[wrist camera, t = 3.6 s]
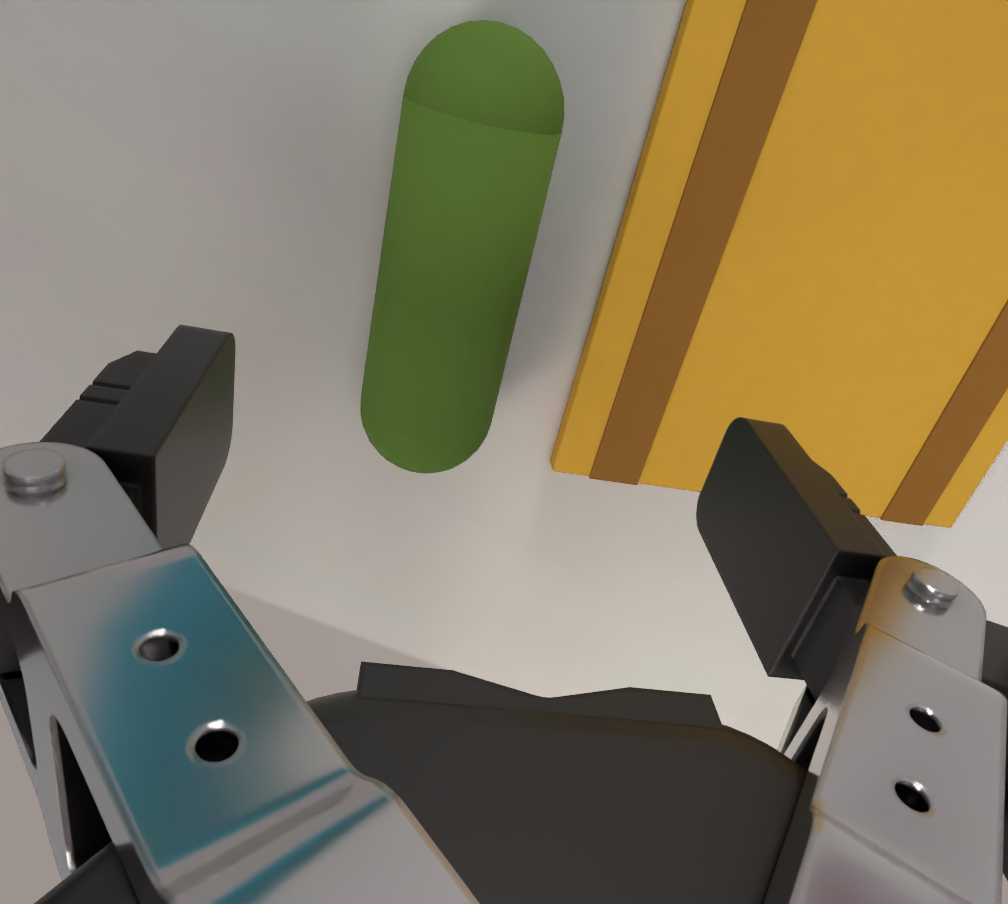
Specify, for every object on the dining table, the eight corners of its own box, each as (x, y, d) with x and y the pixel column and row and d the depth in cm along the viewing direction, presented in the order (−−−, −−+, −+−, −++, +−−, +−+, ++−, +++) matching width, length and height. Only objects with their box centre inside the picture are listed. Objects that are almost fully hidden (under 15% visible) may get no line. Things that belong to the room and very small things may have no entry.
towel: (549, 461, 24) (552, 473, 24) (861, -591, 13) (880, -617, 13) (941, 518, 27) (952, 530, 26) (1470, -319, 16) (1510, -331, 15)
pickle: (358, 421, 23) (347, 489, 20) (417, -1, 17) (414, 3, 14) (474, 439, 24) (482, 507, 20) (569, 37, 18) (597, 49, 15)
